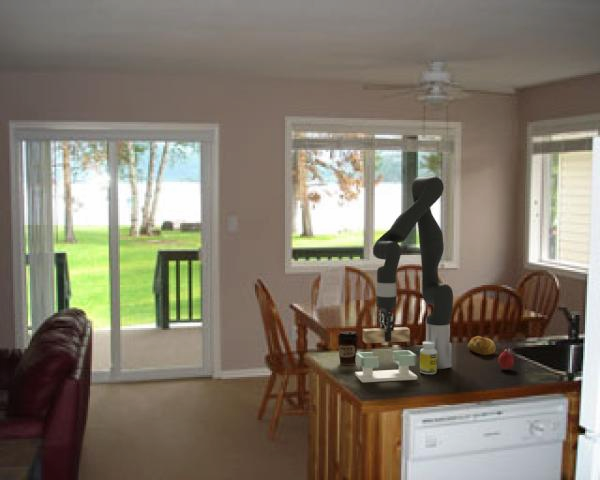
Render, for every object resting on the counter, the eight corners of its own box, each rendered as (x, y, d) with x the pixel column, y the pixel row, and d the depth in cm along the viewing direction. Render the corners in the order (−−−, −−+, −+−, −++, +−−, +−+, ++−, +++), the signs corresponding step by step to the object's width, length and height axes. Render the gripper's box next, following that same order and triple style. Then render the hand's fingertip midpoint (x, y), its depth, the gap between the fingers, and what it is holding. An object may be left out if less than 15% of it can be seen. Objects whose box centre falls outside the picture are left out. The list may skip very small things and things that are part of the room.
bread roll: (462, 350, 284) (463, 332, 284) (481, 348, 288) (481, 330, 287) (481, 357, 272) (481, 338, 272) (500, 355, 276) (500, 336, 275)
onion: (514, 368, 254) (514, 348, 253) (512, 372, 249) (513, 351, 248) (499, 367, 256) (499, 347, 256) (497, 370, 251) (497, 350, 250)
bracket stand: (407, 372, 249) (408, 349, 249) (417, 379, 240) (417, 355, 239) (354, 375, 246) (355, 352, 245) (362, 382, 236) (362, 358, 235)
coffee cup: (357, 367, 256) (357, 334, 256) (336, 366, 258) (336, 334, 257) (359, 361, 265) (359, 330, 264) (339, 360, 267) (339, 329, 266)
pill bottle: (426, 375, 244) (427, 345, 244) (416, 371, 250) (416, 341, 249) (440, 373, 247) (440, 343, 247) (429, 369, 253) (430, 340, 252)
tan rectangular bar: (406, 338, 245) (406, 327, 245) (409, 341, 241) (409, 329, 241) (362, 340, 242) (362, 328, 242) (365, 343, 238) (365, 331, 238)
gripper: (402, 297, 234) (402, 344, 235) (390, 291, 248) (389, 335, 249) (382, 297, 233) (382, 344, 234) (371, 292, 247) (370, 336, 248)
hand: (386, 339), depth 242 cm, fingers closed on tan rectangular bar, 4 cm apart
